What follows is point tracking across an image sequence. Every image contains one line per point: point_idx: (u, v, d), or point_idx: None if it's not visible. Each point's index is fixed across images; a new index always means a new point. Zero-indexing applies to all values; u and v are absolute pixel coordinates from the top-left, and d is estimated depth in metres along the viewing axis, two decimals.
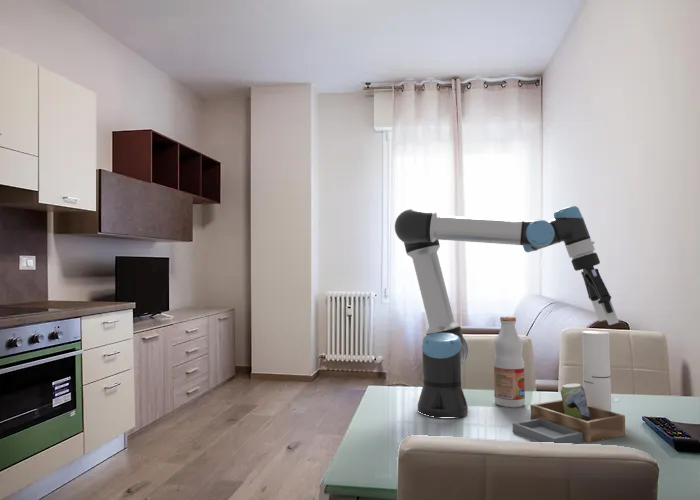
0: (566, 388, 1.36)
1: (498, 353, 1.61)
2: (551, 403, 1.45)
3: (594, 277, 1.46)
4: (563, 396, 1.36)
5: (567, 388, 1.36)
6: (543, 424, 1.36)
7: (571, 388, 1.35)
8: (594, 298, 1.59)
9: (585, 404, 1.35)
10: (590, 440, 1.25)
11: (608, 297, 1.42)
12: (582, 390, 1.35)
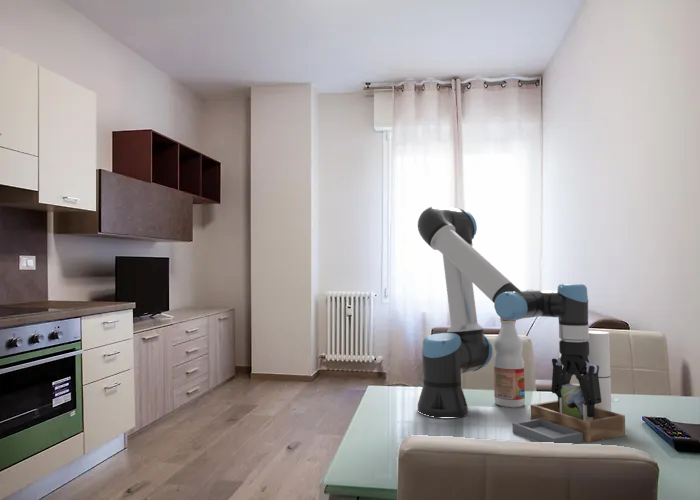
0: (566, 388, 1.36)
1: (498, 353, 1.61)
2: (551, 403, 1.45)
3: (593, 375, 1.31)
4: (563, 396, 1.36)
5: (567, 388, 1.36)
6: (543, 424, 1.36)
7: (571, 388, 1.35)
8: None
9: None
10: (590, 440, 1.25)
11: (599, 401, 1.31)
12: None
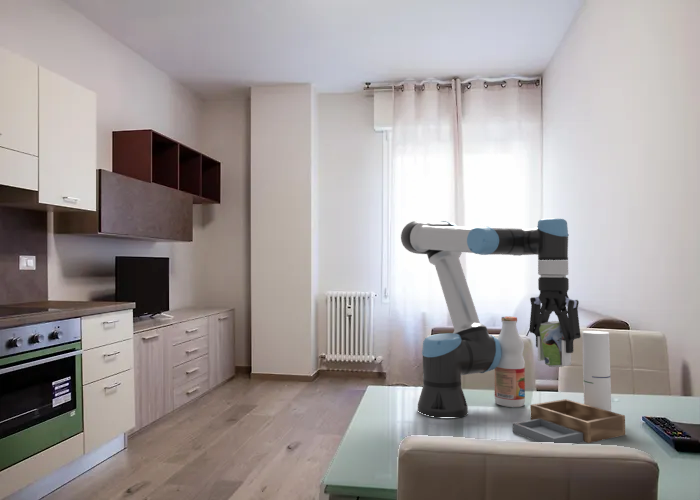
0: (545, 325, 1.32)
1: None
2: (551, 403, 1.45)
3: (573, 309, 1.28)
4: (542, 333, 1.33)
5: (546, 325, 1.32)
6: (543, 424, 1.36)
7: (550, 325, 1.32)
8: None
9: None
10: (590, 440, 1.25)
11: (578, 336, 1.28)
12: None
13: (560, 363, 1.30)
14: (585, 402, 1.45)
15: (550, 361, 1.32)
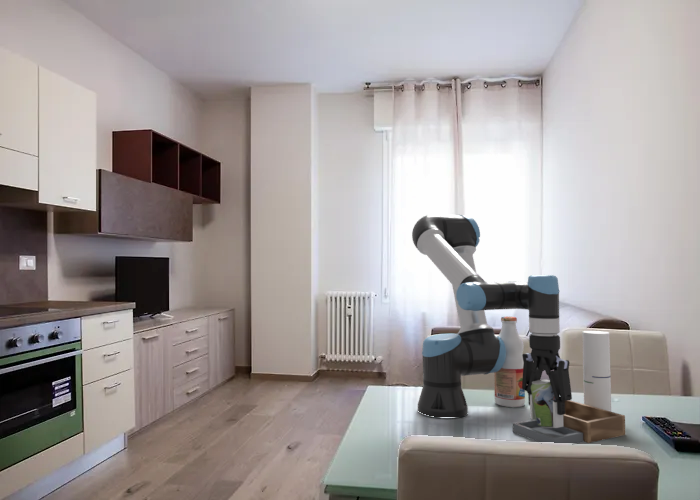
0: (536, 384, 1.29)
1: None
2: None
3: (563, 370, 1.25)
4: (533, 392, 1.30)
5: (537, 384, 1.29)
6: None
7: (541, 384, 1.29)
8: None
9: None
10: (590, 440, 1.25)
11: (570, 398, 1.24)
12: None
13: (551, 425, 1.27)
14: (585, 402, 1.45)
15: (541, 422, 1.28)
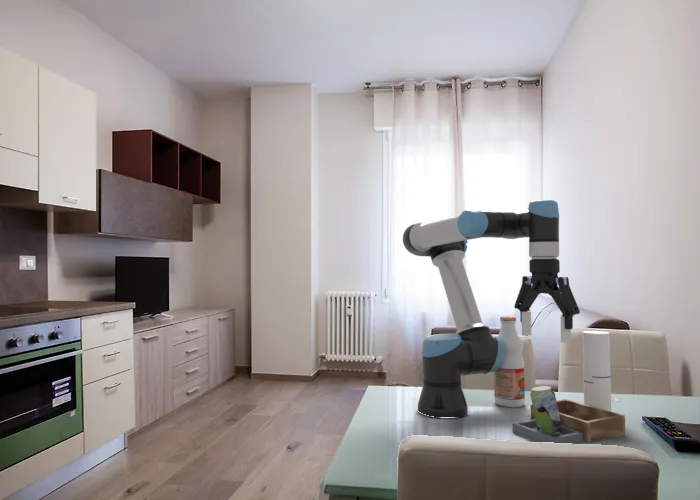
0: (535, 391, 1.29)
1: None
2: None
3: (564, 285, 1.27)
4: (533, 399, 1.30)
5: (536, 391, 1.29)
6: None
7: (540, 391, 1.28)
8: (524, 309, 1.39)
9: (555, 408, 1.28)
10: (590, 440, 1.25)
11: (577, 311, 1.24)
12: (552, 393, 1.28)
13: (552, 431, 1.27)
14: (585, 402, 1.45)
15: (541, 428, 1.28)
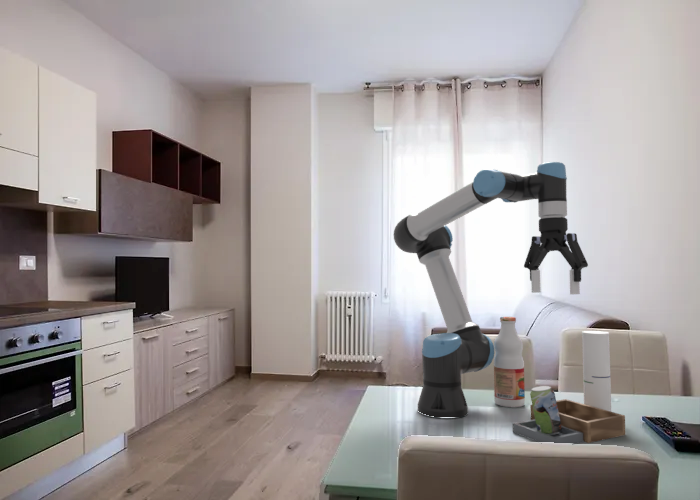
0: (535, 391, 1.29)
1: (498, 353, 1.61)
2: None
3: (573, 241, 1.34)
4: (532, 399, 1.30)
5: (536, 391, 1.29)
6: None
7: (540, 391, 1.28)
8: (533, 267, 1.47)
9: (555, 408, 1.28)
10: (590, 440, 1.25)
11: (586, 264, 1.32)
12: (552, 393, 1.28)
13: (552, 431, 1.27)
14: (585, 402, 1.45)
15: (541, 428, 1.28)
